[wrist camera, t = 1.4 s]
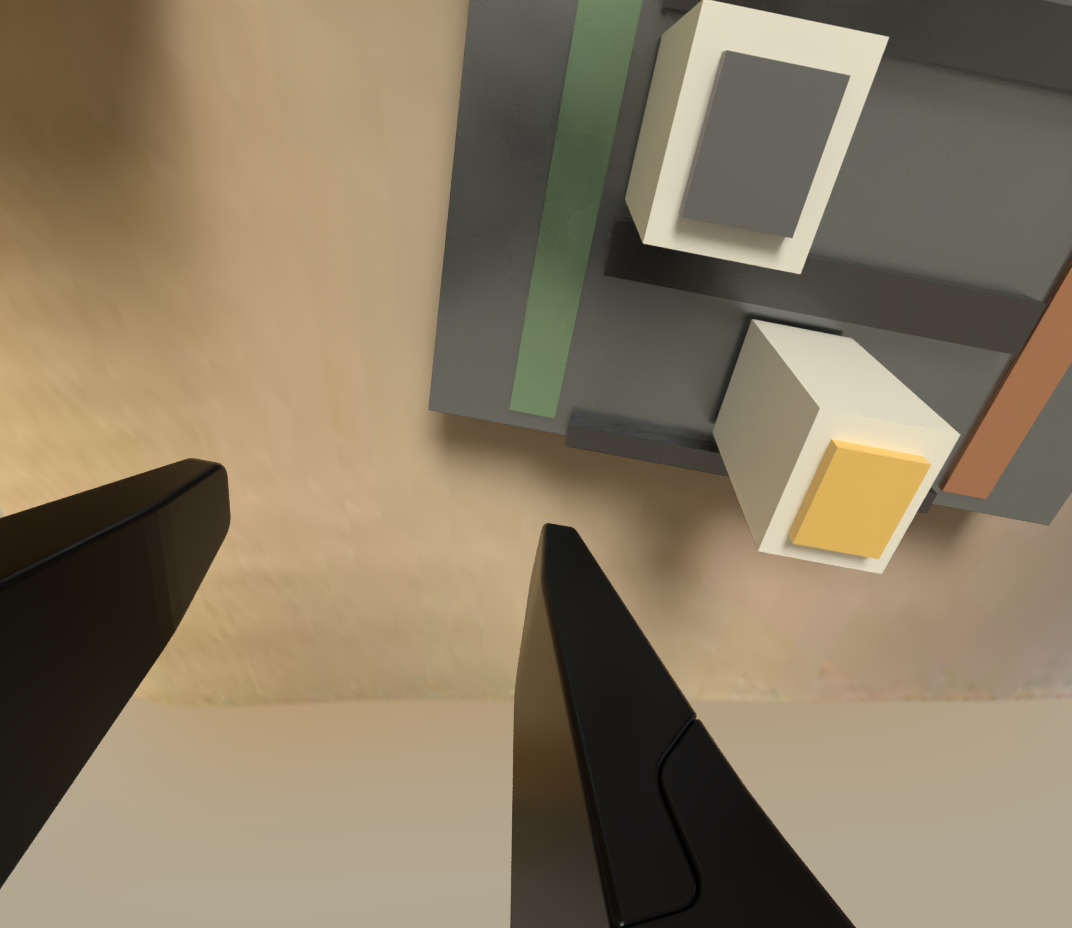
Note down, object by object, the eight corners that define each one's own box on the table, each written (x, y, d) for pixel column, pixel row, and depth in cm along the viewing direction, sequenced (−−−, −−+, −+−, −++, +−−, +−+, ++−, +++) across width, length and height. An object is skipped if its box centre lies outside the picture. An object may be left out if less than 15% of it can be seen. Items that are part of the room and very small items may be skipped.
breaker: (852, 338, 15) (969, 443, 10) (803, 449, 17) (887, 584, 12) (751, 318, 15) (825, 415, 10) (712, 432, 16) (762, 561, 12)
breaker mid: (783, 59, 12) (899, 35, 8) (733, 220, 14) (806, 279, 9) (661, 34, 12) (707, -5, 8) (624, 198, 14) (644, 247, 9)
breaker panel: (1410, -187, 12) (1642, -267, 10) (997, 478, 20) (1062, 538, 17) (531, -382, 12) (514, -523, 9) (446, 374, 19) (423, 419, 16)
